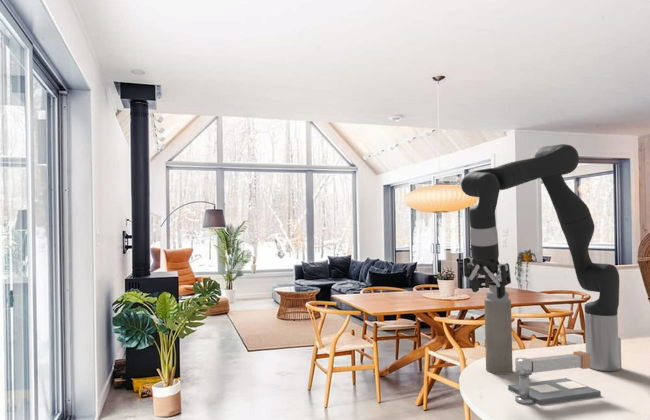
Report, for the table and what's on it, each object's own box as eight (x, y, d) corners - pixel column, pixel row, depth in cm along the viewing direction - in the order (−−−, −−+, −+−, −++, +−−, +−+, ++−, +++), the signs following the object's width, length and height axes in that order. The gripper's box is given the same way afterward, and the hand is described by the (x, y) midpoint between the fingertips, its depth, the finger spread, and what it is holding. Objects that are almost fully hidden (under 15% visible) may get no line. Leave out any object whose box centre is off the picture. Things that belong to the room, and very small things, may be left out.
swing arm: (522, 376, 123) (522, 361, 123) (512, 372, 127) (511, 357, 127) (591, 368, 130) (591, 354, 130) (579, 364, 134) (579, 350, 134)
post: (525, 397, 128) (525, 371, 129) (537, 403, 124) (536, 376, 124) (511, 399, 127) (511, 373, 127) (523, 405, 123) (522, 378, 123)
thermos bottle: (510, 367, 156) (508, 280, 157) (514, 374, 148) (512, 283, 149) (484, 366, 157) (482, 280, 158) (487, 373, 150) (485, 282, 151)
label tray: (566, 382, 141) (566, 376, 141) (600, 395, 129) (600, 390, 129) (508, 389, 135) (508, 384, 135) (539, 404, 123) (538, 398, 123)
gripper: (514, 241, 134) (517, 296, 137) (471, 235, 146) (475, 285, 149) (497, 248, 130) (501, 304, 133) (455, 241, 142) (459, 293, 145)
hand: (487, 294), depth 141 cm, fingers open, 8 cm apart
